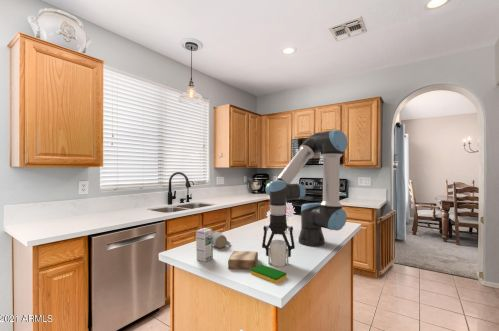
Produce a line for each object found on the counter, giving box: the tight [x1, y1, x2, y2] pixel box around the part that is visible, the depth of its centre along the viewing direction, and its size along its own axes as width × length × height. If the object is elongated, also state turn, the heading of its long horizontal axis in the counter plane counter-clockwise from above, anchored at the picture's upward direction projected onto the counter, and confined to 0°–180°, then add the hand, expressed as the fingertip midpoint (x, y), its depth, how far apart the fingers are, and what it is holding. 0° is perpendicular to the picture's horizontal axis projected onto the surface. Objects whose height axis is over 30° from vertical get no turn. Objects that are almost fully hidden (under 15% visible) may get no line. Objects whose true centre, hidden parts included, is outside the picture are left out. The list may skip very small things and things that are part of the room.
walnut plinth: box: [227, 250, 259, 271], centre depth 114 cm, size 12×12×4 cm
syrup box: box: [195, 227, 214, 263], centre depth 121 cm, size 6×6×14 cm
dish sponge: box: [250, 263, 288, 284], centre depth 102 cm, size 7×14×2 cm, turn 46°
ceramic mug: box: [212, 231, 231, 249], centre depth 141 cm, size 11×8×8 cm
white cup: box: [269, 239, 288, 267], centre depth 114 cm, size 8×8×10 cm
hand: (278, 263), depth 114 cm, fingers closed on white cup, 8 cm apart
